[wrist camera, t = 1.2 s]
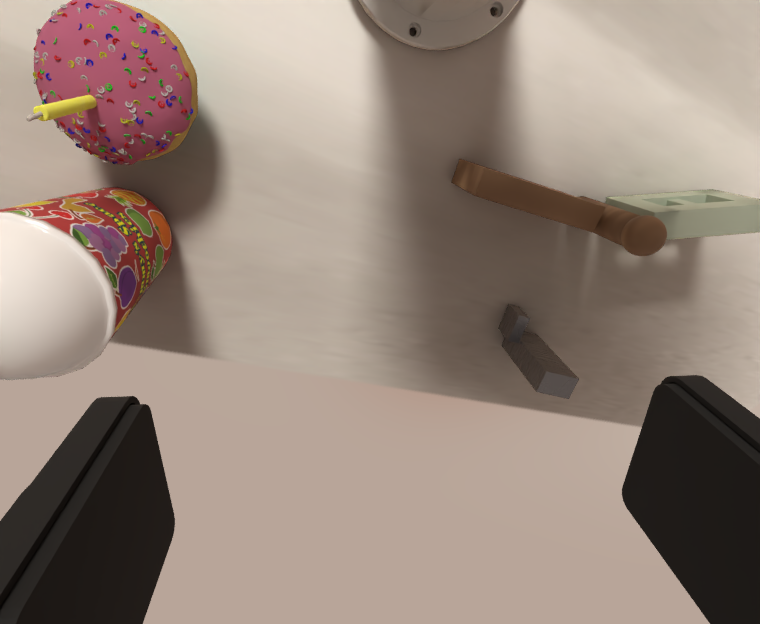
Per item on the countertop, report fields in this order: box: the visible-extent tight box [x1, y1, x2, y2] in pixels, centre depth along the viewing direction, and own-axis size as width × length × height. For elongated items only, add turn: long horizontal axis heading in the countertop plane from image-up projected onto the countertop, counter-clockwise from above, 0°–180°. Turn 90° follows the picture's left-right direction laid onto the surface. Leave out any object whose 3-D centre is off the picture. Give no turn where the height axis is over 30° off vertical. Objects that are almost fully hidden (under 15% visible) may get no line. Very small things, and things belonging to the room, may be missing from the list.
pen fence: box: [452, 159, 667, 256], centre depth 32 cm, size 3×12×10 cm, turn 73°
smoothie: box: [0, 187, 173, 380], centre depth 25 cm, size 8×8×20 cm
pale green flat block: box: [605, 189, 760, 240], centre depth 35 cm, size 9×2×6 cm, turn 93°
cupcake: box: [27, 0, 198, 165], centre depth 26 cm, size 9×8×12 cm
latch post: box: [498, 304, 579, 399], centre depth 38 cm, size 4×4×8 cm
